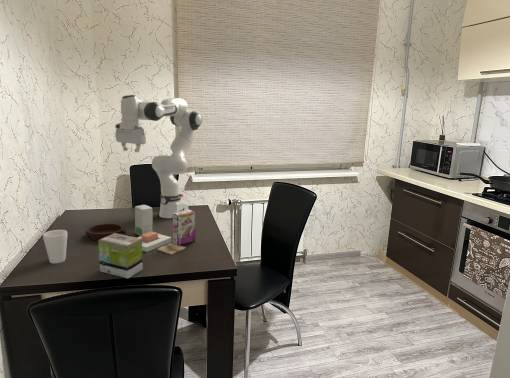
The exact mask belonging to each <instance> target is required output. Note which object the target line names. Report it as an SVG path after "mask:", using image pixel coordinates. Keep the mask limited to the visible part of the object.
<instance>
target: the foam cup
mask: <svg viewBox="0 0 510 378" xmlns="http://www.w3.org/2000/svg"><path fill="white" fill-rule="evenodd" d="M42 238H43V239H42V241H44V246H45V250H46V253H47V257H48V260H49V263H50V264H60V263H63V262H65V261H66V260H65V259H66V258H67V244H68V242H67V241H68V231H67V229H66V230H65V229H53V230H49V231H46V232H44V233H43V234H42Z"/></svg>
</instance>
